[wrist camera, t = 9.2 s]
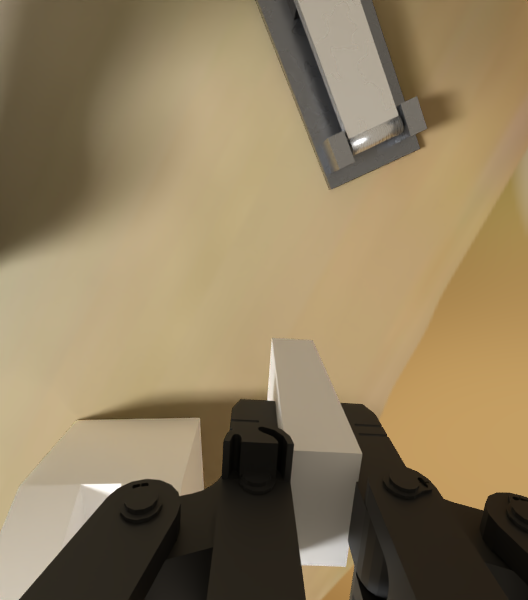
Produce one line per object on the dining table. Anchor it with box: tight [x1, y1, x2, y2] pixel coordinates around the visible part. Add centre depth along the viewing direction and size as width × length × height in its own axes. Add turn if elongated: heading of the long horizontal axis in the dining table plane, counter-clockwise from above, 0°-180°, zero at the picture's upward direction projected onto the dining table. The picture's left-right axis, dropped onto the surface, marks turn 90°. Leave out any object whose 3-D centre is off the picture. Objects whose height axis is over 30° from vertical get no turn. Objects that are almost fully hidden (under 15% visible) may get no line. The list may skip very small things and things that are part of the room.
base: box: [256, 0, 427, 190], centre depth 34 cm, size 24×10×7 cm, turn 24°
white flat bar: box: [294, 0, 403, 156], centre depth 34 cm, size 18×5×2 cm, turn 24°
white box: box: [0, 418, 204, 600], centre depth 37 cm, size 19×15×25 cm
